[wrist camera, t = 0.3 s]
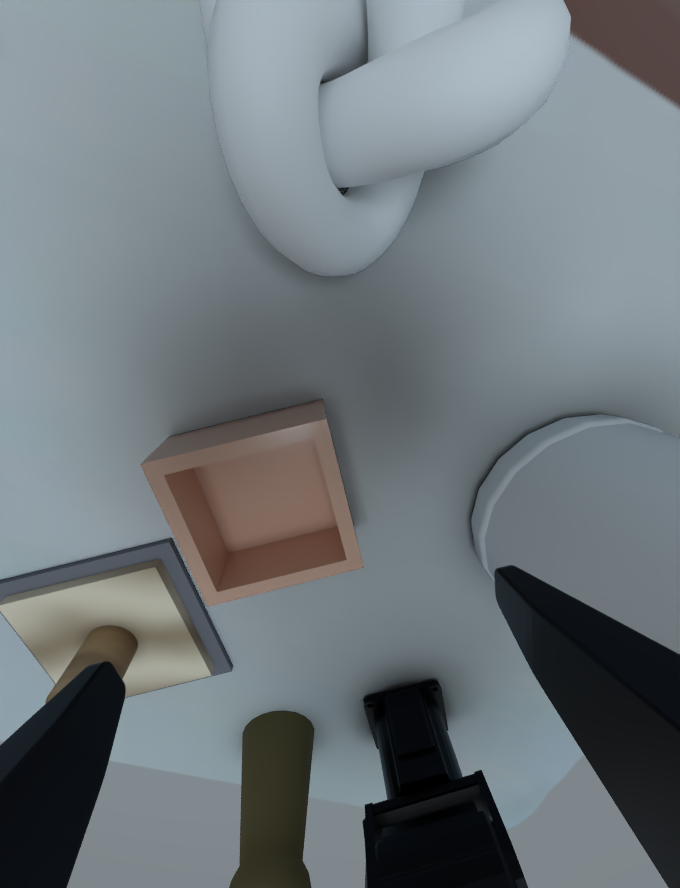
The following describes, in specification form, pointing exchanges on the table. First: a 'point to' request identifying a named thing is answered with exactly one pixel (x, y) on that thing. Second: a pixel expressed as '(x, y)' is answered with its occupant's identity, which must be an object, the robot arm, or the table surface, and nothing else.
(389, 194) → the white decorative knot
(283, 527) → the pink open box
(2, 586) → the mat
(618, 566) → the bottle
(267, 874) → the olive pestle
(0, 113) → the table surface
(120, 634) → the lid
